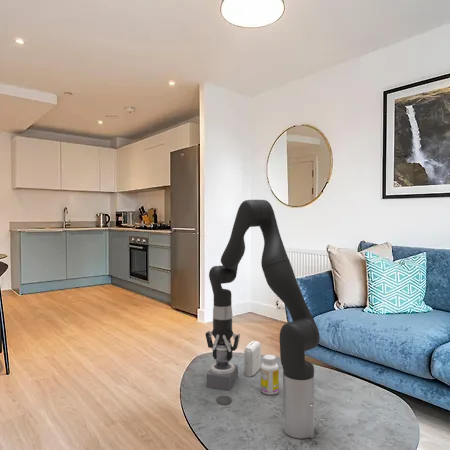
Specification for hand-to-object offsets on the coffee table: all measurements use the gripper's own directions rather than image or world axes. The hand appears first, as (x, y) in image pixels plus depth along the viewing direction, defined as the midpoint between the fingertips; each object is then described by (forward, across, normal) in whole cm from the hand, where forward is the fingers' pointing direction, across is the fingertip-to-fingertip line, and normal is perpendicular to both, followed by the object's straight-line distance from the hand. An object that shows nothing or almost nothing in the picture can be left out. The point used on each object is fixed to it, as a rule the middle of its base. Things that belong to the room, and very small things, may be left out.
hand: (222, 359), depth 143 cm
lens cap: (+9, +5, -14) cm, 18 cm away
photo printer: (+9, +9, +13) cm, 18 cm away
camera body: (+9, 0, 0) cm, 9 cm away
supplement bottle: (+9, +19, -2) cm, 21 cm away
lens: (+2, 0, 0) cm, 2 cm away
